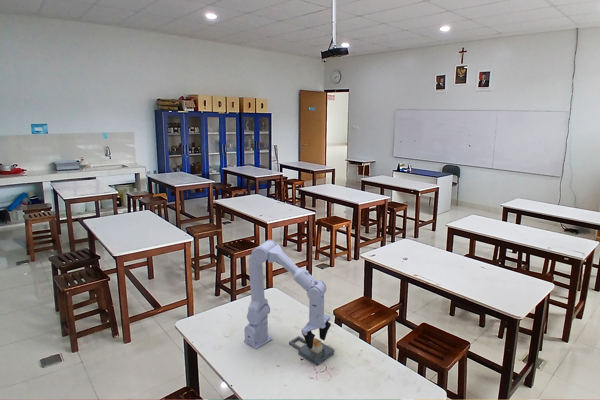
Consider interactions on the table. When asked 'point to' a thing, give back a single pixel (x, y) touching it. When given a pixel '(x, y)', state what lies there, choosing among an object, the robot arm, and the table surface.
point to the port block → (314, 357)
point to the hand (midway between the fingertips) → (316, 343)
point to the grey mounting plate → (296, 344)
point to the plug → (316, 346)
